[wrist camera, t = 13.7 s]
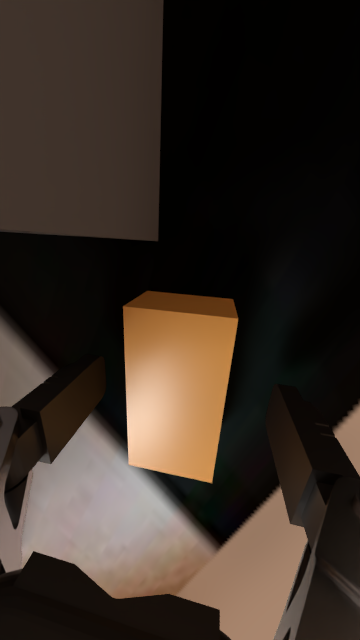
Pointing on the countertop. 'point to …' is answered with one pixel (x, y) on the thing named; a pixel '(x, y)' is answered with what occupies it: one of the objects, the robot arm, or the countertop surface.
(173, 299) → the orange rectangular block
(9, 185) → the storage box
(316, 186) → the countertop surface
